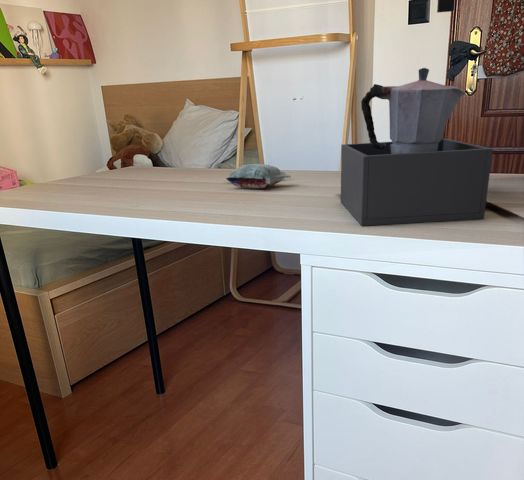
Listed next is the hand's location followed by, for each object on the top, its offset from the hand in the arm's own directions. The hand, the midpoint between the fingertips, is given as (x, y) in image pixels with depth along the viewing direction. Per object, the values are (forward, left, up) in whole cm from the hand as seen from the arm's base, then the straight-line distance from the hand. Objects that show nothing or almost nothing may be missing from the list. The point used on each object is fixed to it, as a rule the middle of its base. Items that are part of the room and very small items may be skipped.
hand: (460, 6), depth 88 cm
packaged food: (+35, -19, -30) cm, 50 cm away
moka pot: (+11, +14, -29) cm, 34 cm away
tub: (+11, +14, -30) cm, 35 cm away
